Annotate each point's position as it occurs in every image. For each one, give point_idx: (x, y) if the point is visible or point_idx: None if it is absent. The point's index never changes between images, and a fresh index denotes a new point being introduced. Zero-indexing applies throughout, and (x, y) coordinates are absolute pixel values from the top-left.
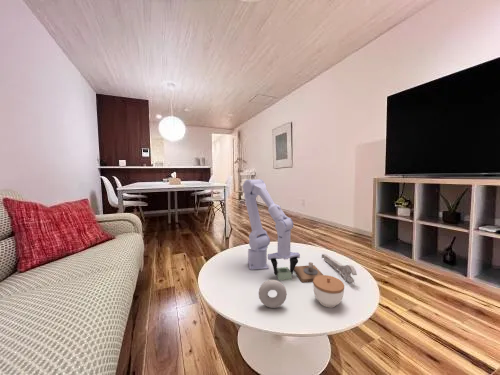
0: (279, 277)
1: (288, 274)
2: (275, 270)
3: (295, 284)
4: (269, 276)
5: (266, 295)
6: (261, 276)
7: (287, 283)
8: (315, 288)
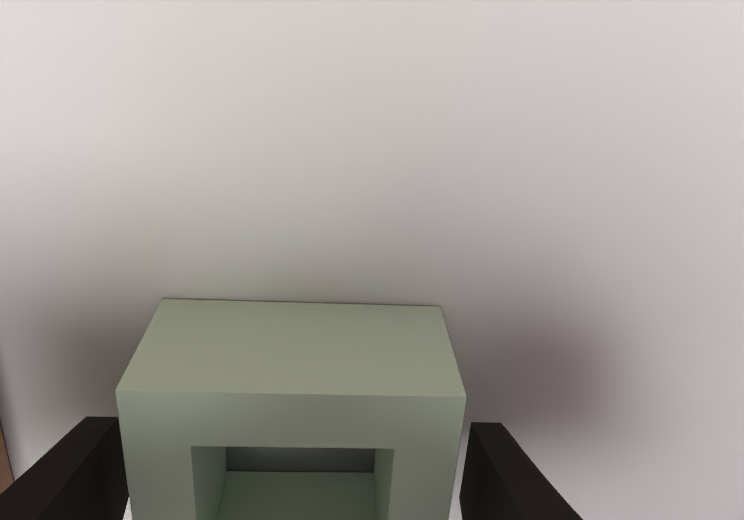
0: (442, 339)
1: (210, 368)
2: (553, 500)
3: (117, 84)
4: (570, 450)
5: None
6: (713, 467)
7: (300, 159)
8: None
